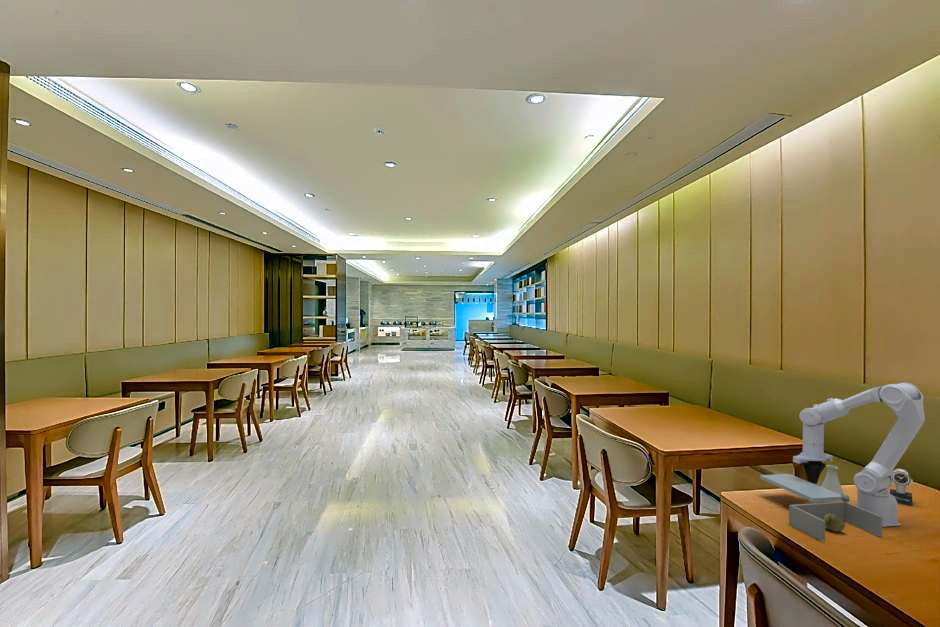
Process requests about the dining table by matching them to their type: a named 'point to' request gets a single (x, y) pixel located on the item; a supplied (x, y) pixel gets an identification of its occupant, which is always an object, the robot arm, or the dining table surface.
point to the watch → (901, 487)
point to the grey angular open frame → (813, 514)
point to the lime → (834, 522)
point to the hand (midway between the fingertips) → (812, 482)
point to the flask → (832, 480)
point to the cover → (803, 488)
